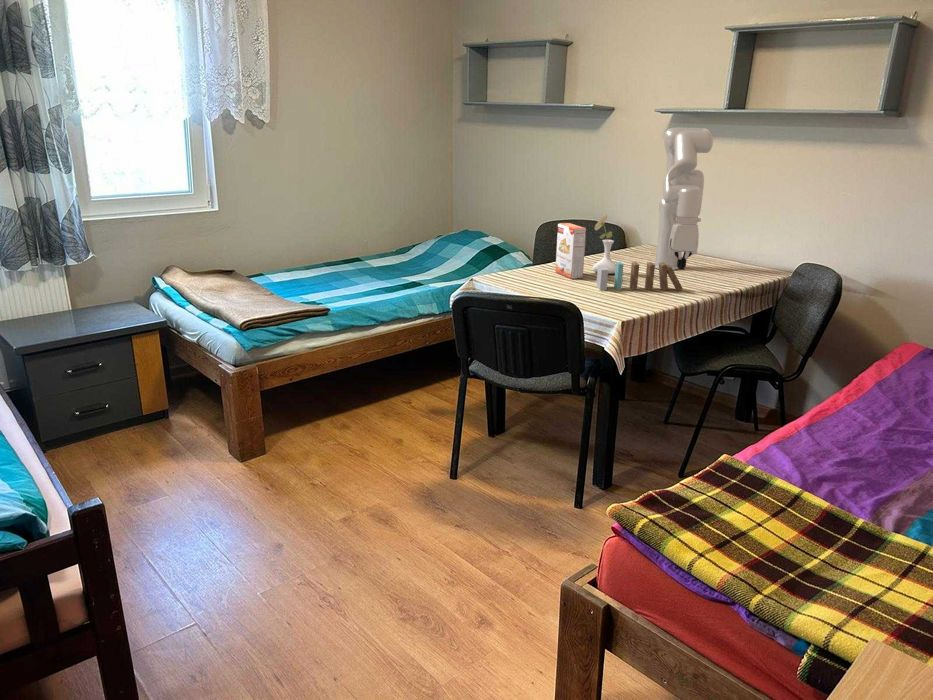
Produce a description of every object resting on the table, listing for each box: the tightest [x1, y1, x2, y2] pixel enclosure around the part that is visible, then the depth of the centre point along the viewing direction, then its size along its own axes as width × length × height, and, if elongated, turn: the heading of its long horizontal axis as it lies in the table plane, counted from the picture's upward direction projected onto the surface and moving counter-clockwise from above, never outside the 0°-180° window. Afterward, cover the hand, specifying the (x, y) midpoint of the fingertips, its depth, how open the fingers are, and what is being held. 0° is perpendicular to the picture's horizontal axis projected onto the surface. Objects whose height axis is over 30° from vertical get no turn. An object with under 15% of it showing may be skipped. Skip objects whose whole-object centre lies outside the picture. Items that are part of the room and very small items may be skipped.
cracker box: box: [555, 222, 587, 280], centre depth 295 cm, size 14×6×21 cm, turn 21°
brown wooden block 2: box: [667, 264, 684, 292], centre depth 276 cm, size 2×5×10 cm
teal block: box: [613, 261, 624, 291], centre depth 276 cm, size 2×5×10 cm, turn 0°
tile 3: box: [644, 261, 656, 291], centre depth 276 cm, size 2×5×10 cm, turn 0°
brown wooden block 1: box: [629, 261, 640, 291], centre depth 276 cm, size 2×5×10 cm, turn 0°
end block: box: [596, 266, 609, 291], centre depth 276 cm, size 8×2×8 cm, turn 0°
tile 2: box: [658, 262, 669, 292], centre depth 276 cm, size 2×5×10 cm, turn 0°
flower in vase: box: [591, 214, 616, 275], centre depth 300 cm, size 13×11×25 cm
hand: (680, 268), depth 275 cm, fingers closed
